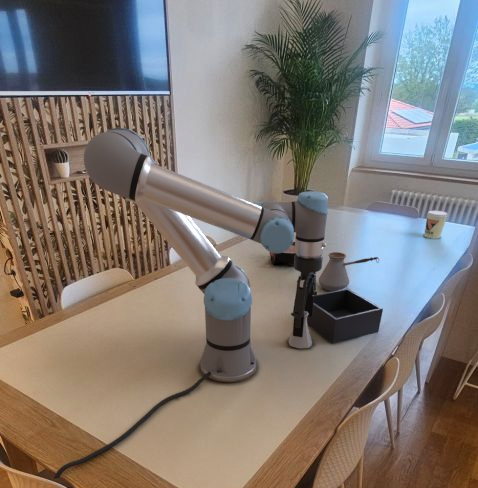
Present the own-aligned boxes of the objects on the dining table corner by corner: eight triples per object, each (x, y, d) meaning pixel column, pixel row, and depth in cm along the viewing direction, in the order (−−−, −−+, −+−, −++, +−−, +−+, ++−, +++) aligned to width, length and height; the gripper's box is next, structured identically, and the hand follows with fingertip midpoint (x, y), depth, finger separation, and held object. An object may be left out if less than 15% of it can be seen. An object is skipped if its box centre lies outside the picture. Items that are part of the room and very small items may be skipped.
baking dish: (302, 261, 198) (302, 238, 194) (303, 268, 182) (303, 244, 177) (270, 262, 199) (269, 239, 195) (269, 270, 183) (268, 245, 179)
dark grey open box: (332, 343, 130) (335, 319, 126) (300, 319, 144) (302, 297, 139) (378, 331, 137) (383, 308, 132) (344, 310, 150) (347, 288, 146)
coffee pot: (312, 288, 166) (316, 250, 157) (326, 279, 173) (330, 242, 165) (365, 302, 155) (373, 262, 147) (377, 292, 163) (385, 253, 155)
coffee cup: (418, 235, 227) (423, 211, 220) (431, 233, 230) (437, 209, 224) (432, 240, 220) (438, 215, 213) (445, 237, 223) (452, 213, 216)
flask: (311, 350, 127) (314, 319, 121) (286, 348, 128) (289, 317, 123) (313, 338, 133) (316, 308, 127) (289, 336, 134) (291, 306, 129)
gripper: (313, 271, 105) (306, 347, 116) (330, 242, 124) (323, 309, 136) (283, 268, 107) (279, 343, 118) (304, 239, 127) (299, 306, 138)
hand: (302, 325), depth 127 cm, fingers open, 13 cm apart
